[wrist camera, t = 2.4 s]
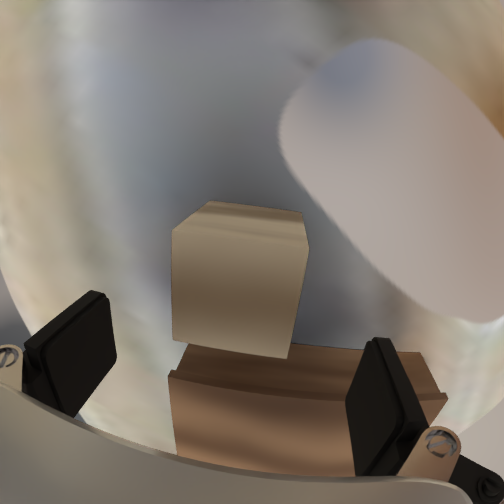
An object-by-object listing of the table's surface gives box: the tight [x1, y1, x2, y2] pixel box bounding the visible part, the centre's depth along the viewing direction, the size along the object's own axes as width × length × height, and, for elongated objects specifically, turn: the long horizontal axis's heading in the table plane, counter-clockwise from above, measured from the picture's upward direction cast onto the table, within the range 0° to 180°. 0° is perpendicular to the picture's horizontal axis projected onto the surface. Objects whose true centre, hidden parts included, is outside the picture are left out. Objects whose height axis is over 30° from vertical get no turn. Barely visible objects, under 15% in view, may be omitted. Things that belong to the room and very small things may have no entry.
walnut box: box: [168, 343, 448, 477], centre depth 19 cm, size 14×16×5 cm
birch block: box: [171, 201, 309, 359], centre depth 14 cm, size 5×5×6 cm
